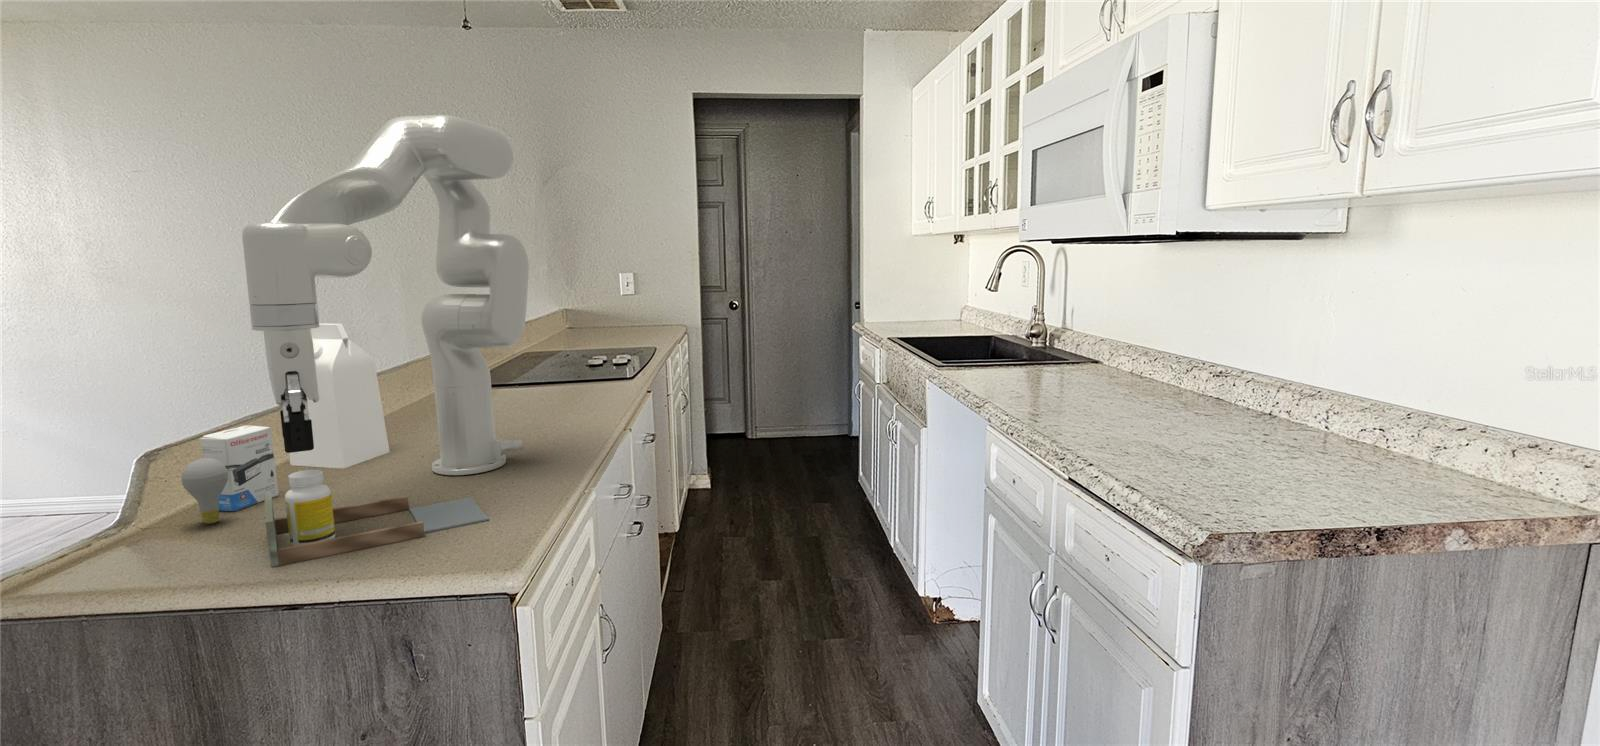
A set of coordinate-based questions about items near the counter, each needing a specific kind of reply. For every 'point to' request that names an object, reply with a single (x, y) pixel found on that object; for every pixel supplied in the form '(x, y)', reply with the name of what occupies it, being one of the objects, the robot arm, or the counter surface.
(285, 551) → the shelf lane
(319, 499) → the supplement bottle
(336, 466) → the milk
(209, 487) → the light bulb
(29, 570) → the counter surface
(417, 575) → the counter surface
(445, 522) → the mat
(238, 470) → the ink box
